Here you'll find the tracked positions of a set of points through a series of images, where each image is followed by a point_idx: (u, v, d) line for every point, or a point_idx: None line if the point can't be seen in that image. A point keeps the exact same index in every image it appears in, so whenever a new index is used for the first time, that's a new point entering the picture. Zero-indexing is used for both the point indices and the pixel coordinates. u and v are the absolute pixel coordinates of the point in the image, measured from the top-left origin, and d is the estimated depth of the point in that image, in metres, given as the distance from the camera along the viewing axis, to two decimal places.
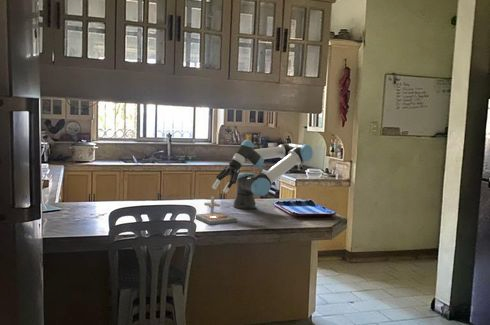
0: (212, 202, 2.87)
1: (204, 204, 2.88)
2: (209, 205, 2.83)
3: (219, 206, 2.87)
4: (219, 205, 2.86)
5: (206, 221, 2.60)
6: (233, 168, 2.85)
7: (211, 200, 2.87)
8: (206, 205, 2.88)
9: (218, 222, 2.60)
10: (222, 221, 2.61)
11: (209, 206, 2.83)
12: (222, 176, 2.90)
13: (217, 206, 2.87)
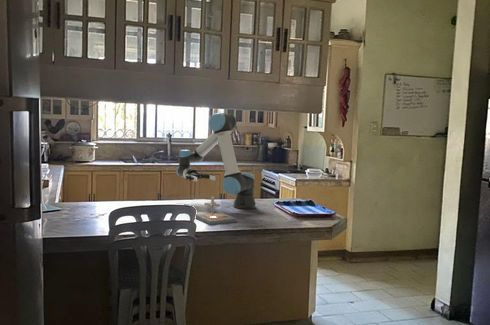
0: (212, 202, 2.87)
1: (204, 204, 2.88)
2: (209, 205, 2.83)
3: (219, 206, 2.86)
4: (219, 205, 2.86)
5: (206, 221, 2.60)
6: None
7: (211, 200, 2.87)
8: (206, 205, 2.88)
9: (218, 222, 2.60)
10: (222, 221, 2.61)
11: (209, 206, 2.83)
12: (205, 176, 3.05)
13: (217, 206, 2.87)
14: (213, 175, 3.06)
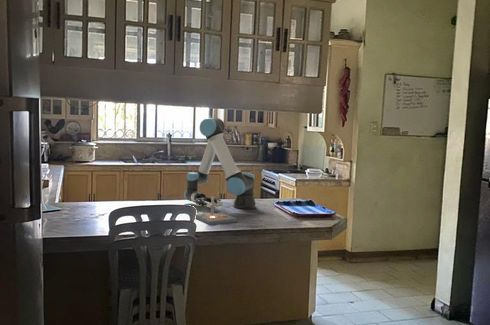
0: (212, 202, 2.87)
1: None
2: None
3: (219, 206, 2.87)
4: (219, 205, 2.86)
5: (206, 221, 2.60)
6: None
7: (211, 200, 2.87)
8: None
9: (218, 222, 2.60)
10: (222, 221, 2.61)
11: None
12: None
13: (217, 206, 2.87)
14: (220, 200, 2.94)
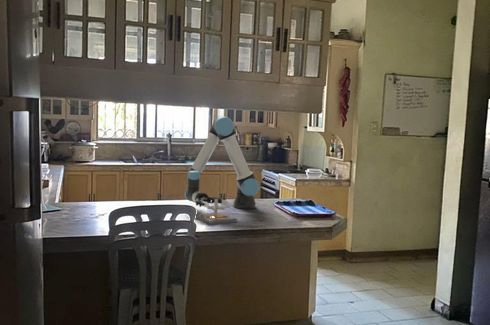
0: (216, 205, 2.68)
1: None
2: (213, 208, 2.64)
3: (223, 209, 2.67)
4: (223, 208, 2.67)
5: (206, 221, 2.60)
6: None
7: None
8: (209, 208, 2.69)
9: (218, 222, 2.60)
10: (222, 221, 2.61)
11: (213, 209, 2.64)
12: None
13: (221, 209, 2.68)
14: (225, 199, 2.78)
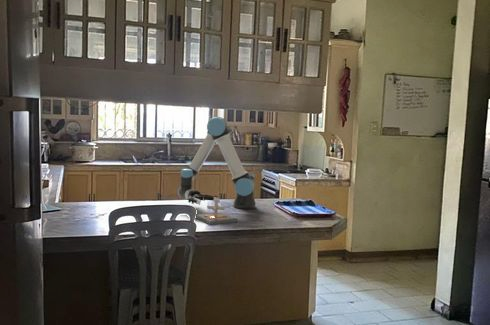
0: (216, 205, 2.68)
1: (207, 207, 2.69)
2: (213, 208, 2.64)
3: (223, 209, 2.67)
4: (223, 208, 2.67)
5: (206, 221, 2.60)
6: None
7: (215, 203, 2.68)
8: (209, 208, 2.69)
9: (218, 222, 2.60)
10: (222, 221, 2.61)
11: (213, 209, 2.64)
12: (209, 198, 2.85)
13: (221, 209, 2.68)
14: (217, 197, 2.86)
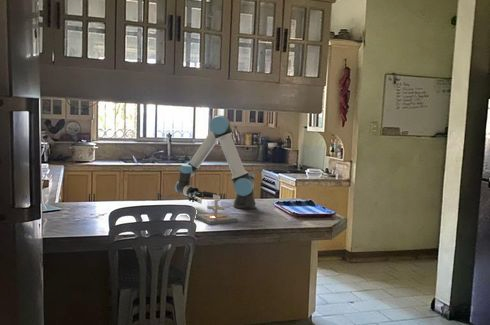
0: (216, 205, 2.67)
1: (207, 207, 2.69)
2: (213, 208, 2.64)
3: (223, 209, 2.67)
4: (223, 208, 2.67)
5: (206, 221, 2.60)
6: None
7: None
8: (209, 208, 2.69)
9: (218, 222, 2.60)
10: (222, 221, 2.61)
11: (213, 210, 2.64)
12: (208, 195, 2.88)
13: (221, 209, 2.67)
14: (216, 194, 2.89)
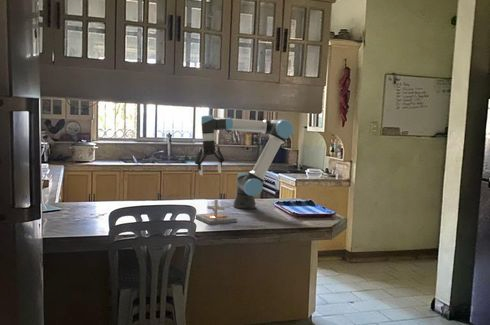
0: (216, 205, 2.67)
1: (207, 207, 2.69)
2: (213, 208, 2.64)
3: (223, 209, 2.67)
4: (223, 208, 2.67)
5: (206, 221, 2.60)
6: None
7: None
8: (209, 208, 2.69)
9: (218, 222, 2.60)
10: (222, 221, 2.61)
11: (213, 210, 2.64)
12: (216, 158, 2.90)
13: (221, 209, 2.67)
14: (223, 160, 2.92)
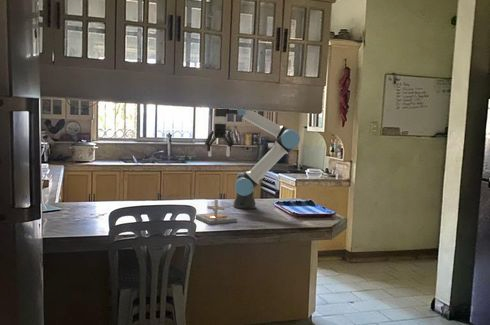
0: (216, 205, 2.68)
1: (207, 207, 2.69)
2: (213, 208, 2.64)
3: (223, 209, 2.67)
4: (223, 208, 2.67)
5: (206, 221, 2.60)
6: None
7: (215, 203, 2.68)
8: (209, 208, 2.69)
9: (218, 222, 2.60)
10: (222, 221, 2.61)
11: (213, 209, 2.64)
12: (226, 142, 2.98)
13: (221, 209, 2.68)
14: None
